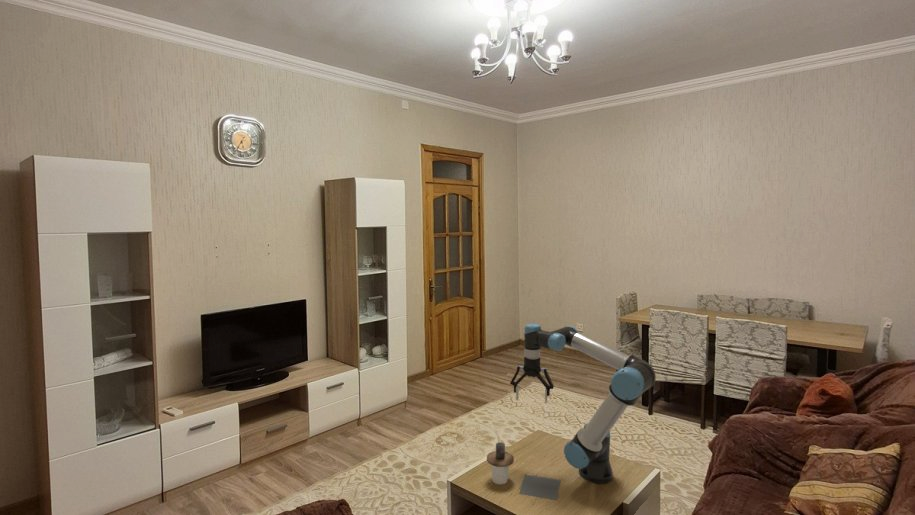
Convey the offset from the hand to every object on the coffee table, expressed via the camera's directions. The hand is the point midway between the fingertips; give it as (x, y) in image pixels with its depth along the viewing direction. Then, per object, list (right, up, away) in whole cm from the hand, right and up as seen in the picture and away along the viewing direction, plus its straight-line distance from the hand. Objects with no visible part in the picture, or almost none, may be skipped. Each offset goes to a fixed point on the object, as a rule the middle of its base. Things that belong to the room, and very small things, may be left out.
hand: (531, 400), depth 232 cm
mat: (+1, -33, -16) cm, 37 cm away
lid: (-16, -23, -12) cm, 30 cm away
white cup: (-16, -33, -11) cm, 38 cm away
